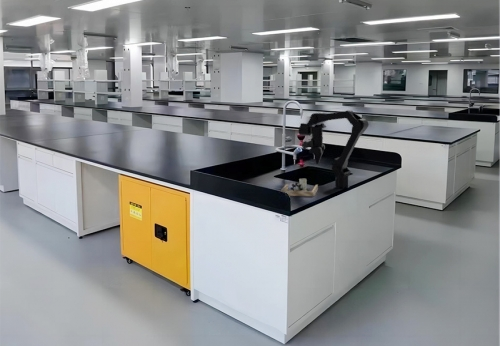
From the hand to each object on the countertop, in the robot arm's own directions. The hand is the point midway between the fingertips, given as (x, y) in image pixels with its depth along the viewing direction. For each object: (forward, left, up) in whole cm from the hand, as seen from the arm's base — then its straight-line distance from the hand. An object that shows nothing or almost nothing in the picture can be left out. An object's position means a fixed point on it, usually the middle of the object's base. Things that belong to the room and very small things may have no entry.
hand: (317, 163), depth 239 cm
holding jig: (+7, +19, -12) cm, 24 cm away
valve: (+6, +20, -12) cm, 24 cm away
